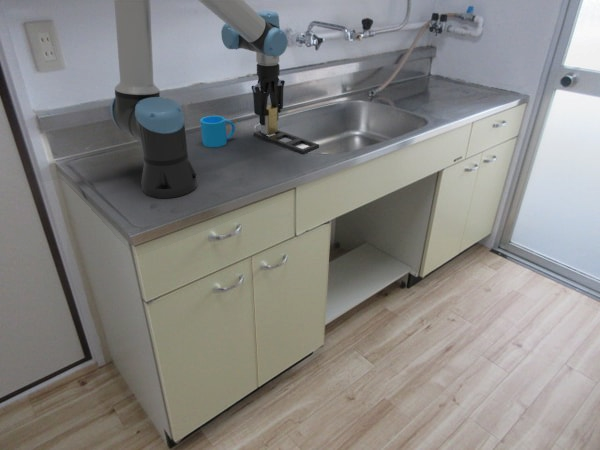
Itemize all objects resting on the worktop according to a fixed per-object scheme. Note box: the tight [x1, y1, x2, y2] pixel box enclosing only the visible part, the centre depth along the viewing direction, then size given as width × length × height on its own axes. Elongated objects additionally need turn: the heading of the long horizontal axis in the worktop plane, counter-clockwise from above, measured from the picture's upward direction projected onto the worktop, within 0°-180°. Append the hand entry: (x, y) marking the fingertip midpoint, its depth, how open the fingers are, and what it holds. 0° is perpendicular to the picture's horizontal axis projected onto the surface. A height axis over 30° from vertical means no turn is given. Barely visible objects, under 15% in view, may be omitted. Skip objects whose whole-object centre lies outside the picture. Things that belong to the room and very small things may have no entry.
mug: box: [199, 115, 236, 148], centre depth 155 cm, size 12×8×8 cm
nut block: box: [266, 104, 278, 136], centre depth 160 cm, size 4×4×9 cm
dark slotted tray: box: [253, 129, 320, 155], centre depth 158 cm, size 8×24×1 cm, turn 47°
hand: (269, 131), depth 162 cm, fingers closed on nut block, 4 cm apart
